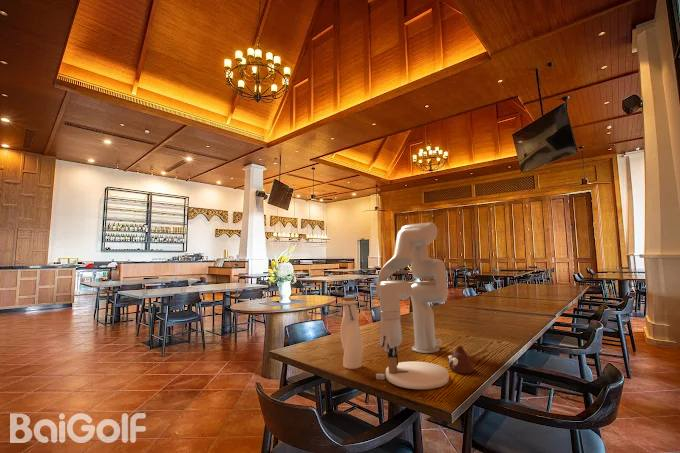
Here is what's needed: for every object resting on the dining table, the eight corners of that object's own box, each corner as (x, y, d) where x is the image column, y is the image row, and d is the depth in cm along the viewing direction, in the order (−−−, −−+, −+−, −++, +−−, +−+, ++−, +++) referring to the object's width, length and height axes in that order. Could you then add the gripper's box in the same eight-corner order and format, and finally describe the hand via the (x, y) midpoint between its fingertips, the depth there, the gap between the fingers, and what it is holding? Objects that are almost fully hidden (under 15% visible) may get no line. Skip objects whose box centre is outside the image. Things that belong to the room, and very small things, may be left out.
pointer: (384, 378, 116) (384, 373, 116) (384, 379, 115) (384, 375, 115) (376, 378, 116) (376, 373, 117) (376, 379, 115) (376, 375, 115)
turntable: (435, 365, 125) (434, 346, 126) (459, 386, 104) (458, 364, 104) (380, 368, 124) (379, 350, 125) (393, 391, 102) (392, 368, 103)
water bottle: (368, 368, 127) (364, 297, 130) (347, 371, 124) (343, 299, 127) (359, 361, 137) (355, 295, 140) (339, 364, 134) (336, 296, 137)
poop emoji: (478, 373, 117) (476, 347, 118) (457, 376, 116) (455, 349, 117) (464, 365, 127) (462, 341, 128) (444, 367, 125) (442, 342, 126)
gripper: (390, 311, 128) (393, 358, 127) (371, 317, 116) (374, 369, 115) (407, 312, 124) (410, 361, 122) (390, 319, 112) (393, 373, 110)
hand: (393, 365), depth 118 cm, fingers closed
